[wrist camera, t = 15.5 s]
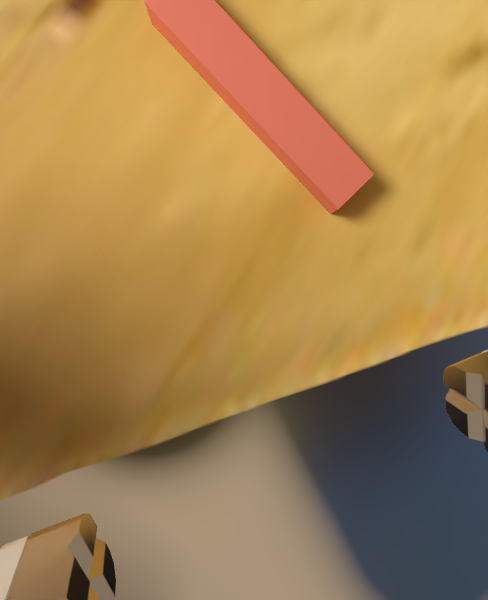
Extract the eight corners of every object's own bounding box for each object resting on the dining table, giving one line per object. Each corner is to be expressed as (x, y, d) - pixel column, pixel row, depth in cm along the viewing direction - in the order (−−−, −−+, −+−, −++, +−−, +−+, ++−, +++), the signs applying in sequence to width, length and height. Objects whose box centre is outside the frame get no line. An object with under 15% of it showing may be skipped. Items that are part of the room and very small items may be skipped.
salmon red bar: (329, 214, 33) (338, 209, 30) (153, 27, 31) (144, 1, 28) (361, 182, 33) (374, 174, 30) (186, -7, 31) (181, -37, 28)
